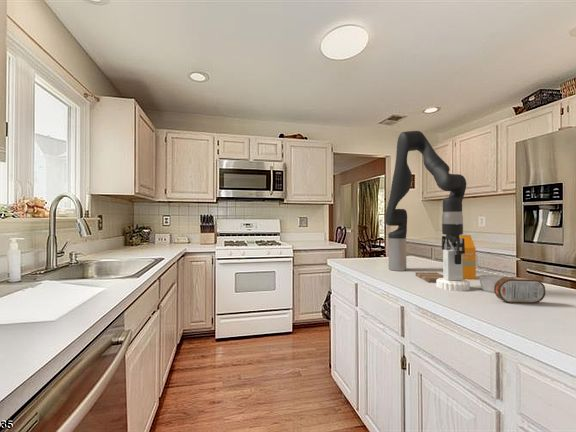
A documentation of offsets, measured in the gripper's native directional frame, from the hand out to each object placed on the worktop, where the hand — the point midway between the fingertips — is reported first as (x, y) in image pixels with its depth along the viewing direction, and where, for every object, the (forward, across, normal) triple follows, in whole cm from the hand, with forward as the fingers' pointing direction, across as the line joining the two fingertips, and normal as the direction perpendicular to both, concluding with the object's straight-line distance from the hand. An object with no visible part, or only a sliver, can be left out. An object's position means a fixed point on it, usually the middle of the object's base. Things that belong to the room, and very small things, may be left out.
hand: (452, 262), depth 123 cm
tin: (+10, +21, +12) cm, 26 cm away
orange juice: (+10, -21, +14) cm, 27 cm away
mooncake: (+11, 0, 0) cm, 11 cm away
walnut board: (+10, -17, -1) cm, 20 cm away
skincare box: (+7, 0, 0) cm, 7 cm away
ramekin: (+10, +5, +14) cm, 18 cm away
